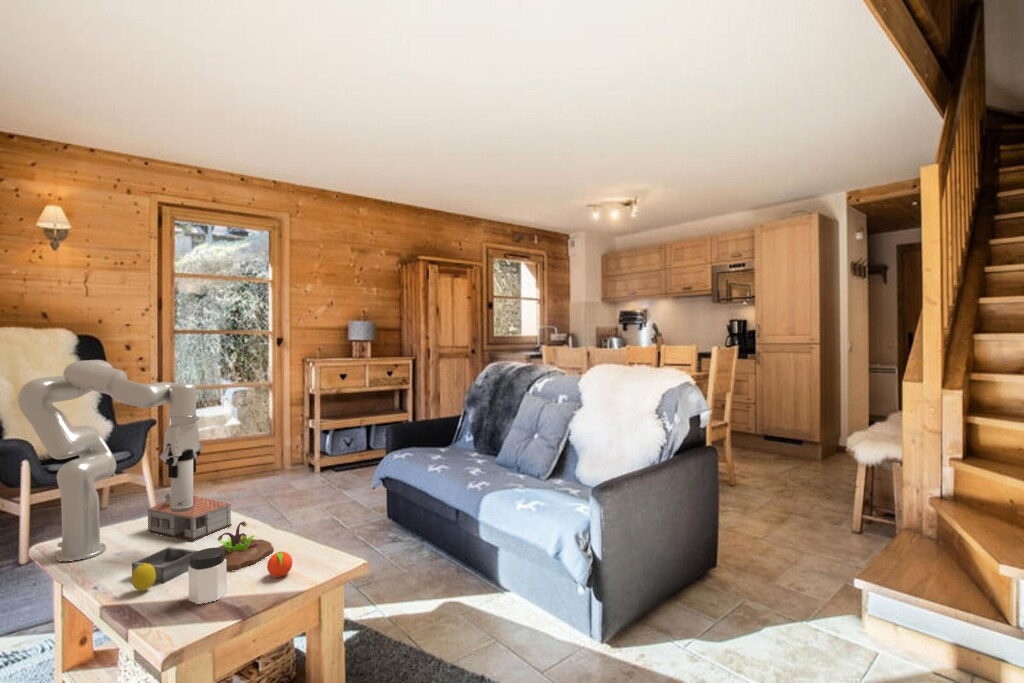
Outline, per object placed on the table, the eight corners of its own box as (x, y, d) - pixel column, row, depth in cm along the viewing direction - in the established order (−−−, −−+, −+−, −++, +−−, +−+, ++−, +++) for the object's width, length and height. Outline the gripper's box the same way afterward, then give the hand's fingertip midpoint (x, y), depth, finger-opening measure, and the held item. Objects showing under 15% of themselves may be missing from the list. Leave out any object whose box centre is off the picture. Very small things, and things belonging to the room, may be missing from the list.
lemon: (152, 584, 149) (151, 557, 148) (158, 590, 145) (158, 562, 145) (129, 592, 144) (128, 563, 144) (135, 598, 141) (134, 569, 141)
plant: (285, 552, 171) (285, 518, 171) (230, 577, 154) (229, 539, 153) (246, 541, 180) (245, 509, 180) (189, 564, 163) (188, 528, 163)
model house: (146, 533, 188) (145, 492, 187) (187, 519, 202) (187, 481, 202) (192, 543, 179) (191, 500, 179) (231, 527, 193) (230, 487, 193)
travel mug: (183, 513, 167) (183, 452, 167) (165, 511, 168) (166, 450, 168) (198, 507, 173) (198, 447, 173) (181, 505, 175) (182, 446, 174)
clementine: (294, 579, 151) (294, 555, 151) (268, 585, 148) (268, 560, 148) (291, 568, 158) (290, 545, 158) (266, 573, 155) (265, 550, 155)
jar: (203, 588, 146) (202, 546, 146) (231, 588, 146) (231, 546, 146) (182, 605, 137) (181, 560, 137) (213, 605, 137) (212, 560, 137)
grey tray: (132, 578, 152) (131, 563, 152) (168, 561, 164) (168, 547, 164) (163, 583, 149) (163, 567, 149) (199, 565, 161) (198, 550, 161)
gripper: (196, 416, 180) (195, 467, 180) (149, 424, 163) (149, 480, 163) (213, 417, 178) (213, 469, 178) (167, 425, 161) (167, 483, 161)
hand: (182, 474), depth 171 cm, fingers closed on travel mug, 6 cm apart
